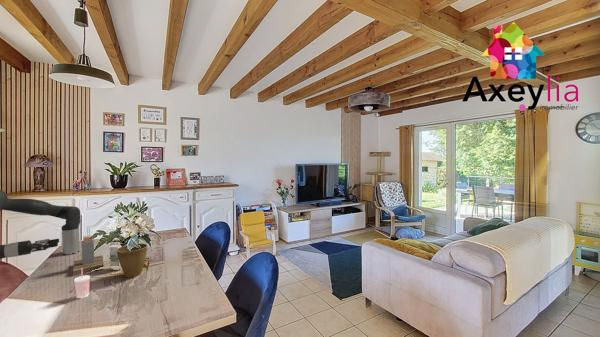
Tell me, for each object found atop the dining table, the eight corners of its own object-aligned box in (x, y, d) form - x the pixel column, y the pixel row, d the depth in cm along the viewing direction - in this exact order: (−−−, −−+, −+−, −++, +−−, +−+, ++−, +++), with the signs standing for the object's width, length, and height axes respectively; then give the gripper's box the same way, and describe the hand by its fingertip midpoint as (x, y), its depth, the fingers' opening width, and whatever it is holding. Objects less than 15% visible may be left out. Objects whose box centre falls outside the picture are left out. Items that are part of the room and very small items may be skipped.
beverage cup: (77, 294, 128) (76, 266, 128) (93, 292, 131) (92, 264, 130) (72, 300, 123) (70, 271, 122) (88, 298, 125) (86, 269, 124)
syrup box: (126, 266, 161) (125, 243, 161) (118, 270, 155) (118, 246, 155) (117, 266, 162) (117, 243, 161) (110, 270, 156) (109, 246, 155)
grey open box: (82, 262, 161) (82, 241, 160) (94, 259, 164) (93, 239, 164) (82, 265, 157) (81, 243, 156) (94, 262, 160) (93, 241, 160)
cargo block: (83, 243, 160) (83, 236, 160) (91, 241, 163) (91, 235, 163) (83, 244, 157) (83, 238, 157) (91, 243, 160) (91, 236, 160)
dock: (74, 265, 164) (74, 260, 164) (102, 259, 173) (102, 254, 173) (73, 276, 149) (72, 270, 148) (103, 269, 157) (103, 264, 157)
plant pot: (154, 270, 155) (153, 244, 154) (132, 282, 141) (131, 253, 140) (134, 268, 159) (133, 242, 158) (110, 279, 145) (109, 250, 144)
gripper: (14, 245, 137) (56, 239, 147) (20, 238, 148) (59, 233, 158) (15, 259, 137) (57, 252, 147) (21, 251, 148) (60, 245, 158)
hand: (58, 242), depth 152 cm, fingers open, 8 cm apart
